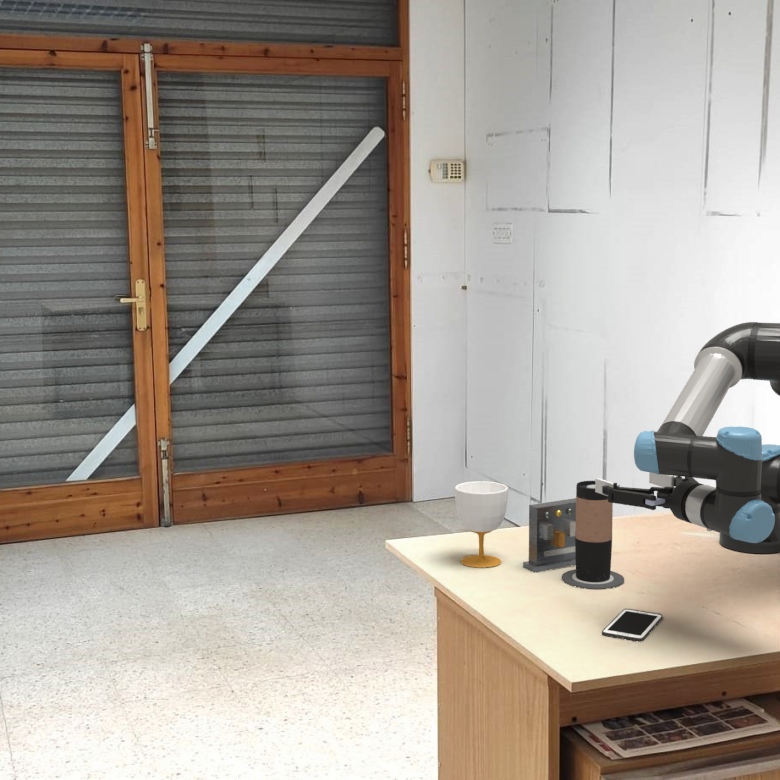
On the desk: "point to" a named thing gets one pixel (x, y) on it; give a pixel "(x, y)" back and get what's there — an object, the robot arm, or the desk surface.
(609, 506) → the travel mug
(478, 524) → the cup
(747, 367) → the robot arm
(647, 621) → the cell phone
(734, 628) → the desk surface
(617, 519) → the desk surface
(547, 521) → the breaker panel
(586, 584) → the pad
